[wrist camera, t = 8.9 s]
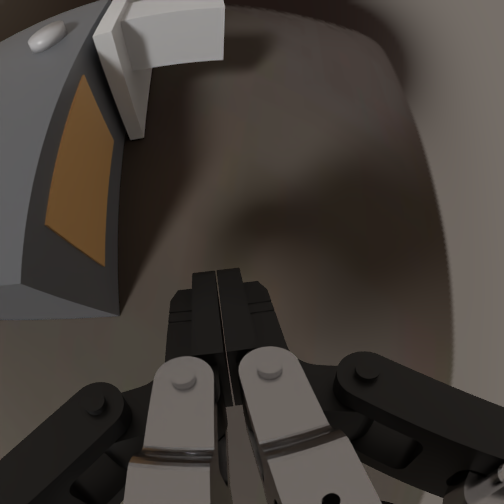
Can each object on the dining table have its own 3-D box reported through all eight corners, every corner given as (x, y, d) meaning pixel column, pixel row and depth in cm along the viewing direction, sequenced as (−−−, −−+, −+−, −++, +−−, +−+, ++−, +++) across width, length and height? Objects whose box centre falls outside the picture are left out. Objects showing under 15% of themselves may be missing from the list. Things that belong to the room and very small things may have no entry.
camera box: (-13, 319, 12) (-115, 290, 4) (28, 108, 17) (-14, 37, 9) (121, 315, 13) (7, 276, 5) (135, 78, 18) (114, -18, 10)
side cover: (130, 140, 16) (92, 36, 9) (147, 41, 20) (135, -33, 12) (225, 128, 17) (228, 14, 9) (214, 33, 20) (215, -43, 13)
